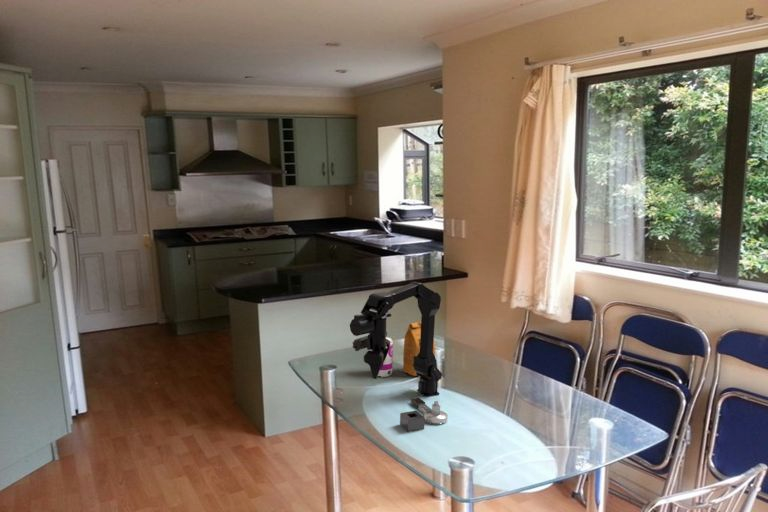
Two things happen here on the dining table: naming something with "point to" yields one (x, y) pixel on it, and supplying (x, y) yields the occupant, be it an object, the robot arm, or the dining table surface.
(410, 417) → the socket
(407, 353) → the coffee package
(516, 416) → the dining table surface
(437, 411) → the ratchet
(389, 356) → the supplement can
